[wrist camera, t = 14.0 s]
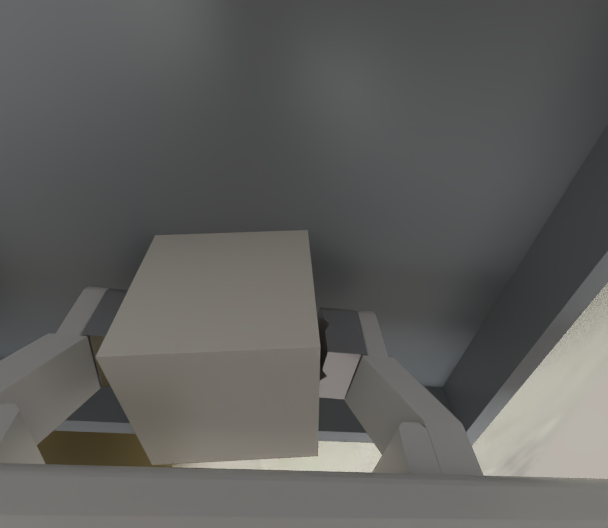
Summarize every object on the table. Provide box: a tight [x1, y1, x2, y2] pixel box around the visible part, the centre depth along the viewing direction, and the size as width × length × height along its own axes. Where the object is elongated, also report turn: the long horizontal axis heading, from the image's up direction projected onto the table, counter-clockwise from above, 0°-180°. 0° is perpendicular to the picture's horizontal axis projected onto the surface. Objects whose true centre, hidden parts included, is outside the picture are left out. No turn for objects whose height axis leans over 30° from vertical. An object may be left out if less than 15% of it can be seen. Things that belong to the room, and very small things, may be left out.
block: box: [96, 230, 320, 465], centre depth 10 cm, size 4×4×4 cm
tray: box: [0, 0, 608, 446], centre depth 9 cm, size 15×17×3 cm
